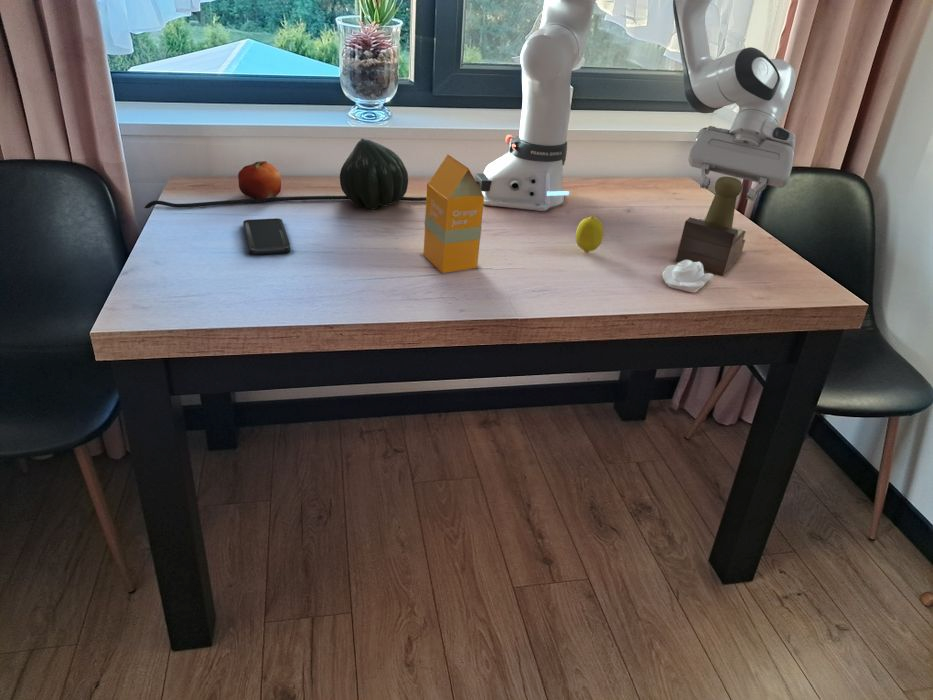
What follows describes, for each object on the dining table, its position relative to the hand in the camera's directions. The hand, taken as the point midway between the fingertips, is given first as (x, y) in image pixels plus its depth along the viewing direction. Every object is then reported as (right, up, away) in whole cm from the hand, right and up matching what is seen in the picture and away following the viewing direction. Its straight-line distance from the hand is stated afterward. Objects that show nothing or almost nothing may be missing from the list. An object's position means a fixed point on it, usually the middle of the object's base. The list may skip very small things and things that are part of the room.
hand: (726, 192), depth 150 cm
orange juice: (-56, -15, -4) cm, 58 cm away
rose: (-9, -19, -4) cm, 21 cm away
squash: (-74, +1, +19) cm, 76 cm away
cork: (-1, -7, +4) cm, 8 cm away
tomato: (-99, +2, +17) cm, 100 cm away
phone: (-92, -10, -2) cm, 93 cm away
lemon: (-28, -12, +4) cm, 30 cm away
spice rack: (-1, -12, +7) cm, 14 cm away
